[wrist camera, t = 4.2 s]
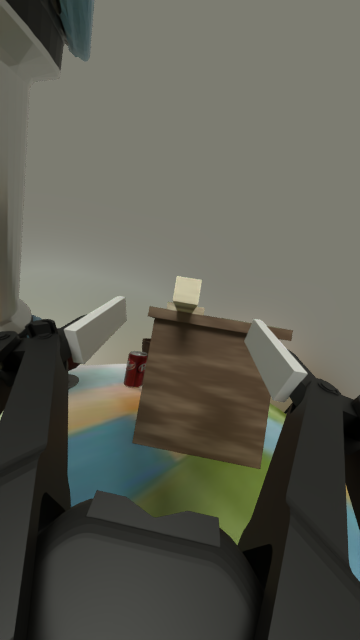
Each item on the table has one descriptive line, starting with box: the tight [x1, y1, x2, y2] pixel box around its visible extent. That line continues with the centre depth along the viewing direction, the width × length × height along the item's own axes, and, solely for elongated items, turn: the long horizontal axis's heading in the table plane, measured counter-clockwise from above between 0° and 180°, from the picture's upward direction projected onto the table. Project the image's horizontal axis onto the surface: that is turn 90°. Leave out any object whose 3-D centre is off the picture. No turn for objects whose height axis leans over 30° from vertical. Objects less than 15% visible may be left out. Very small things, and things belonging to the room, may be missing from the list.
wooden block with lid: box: [132, 306, 293, 469], centre depth 34 cm, size 15×28×28 cm, turn 88°
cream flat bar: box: [167, 276, 204, 315], centre depth 29 cm, size 25×10×3 cm, turn 178°
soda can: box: [124, 351, 148, 388], centre depth 54 cm, size 7×7×12 cm
